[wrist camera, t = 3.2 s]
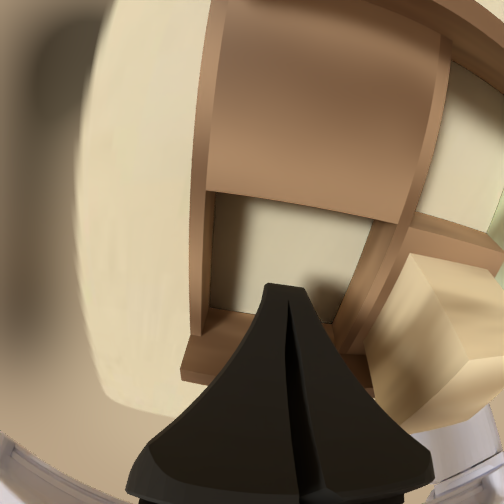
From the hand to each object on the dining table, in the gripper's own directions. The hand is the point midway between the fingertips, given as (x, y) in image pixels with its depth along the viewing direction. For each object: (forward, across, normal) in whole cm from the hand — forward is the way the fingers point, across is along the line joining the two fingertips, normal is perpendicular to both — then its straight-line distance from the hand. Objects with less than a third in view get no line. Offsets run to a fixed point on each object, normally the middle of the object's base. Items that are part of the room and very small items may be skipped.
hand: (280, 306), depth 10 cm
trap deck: (+3, -6, -4) cm, 8 cm away
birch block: (+1, -7, 0) cm, 7 cm away
